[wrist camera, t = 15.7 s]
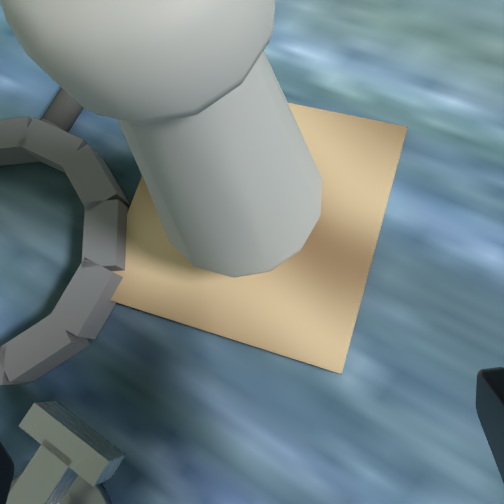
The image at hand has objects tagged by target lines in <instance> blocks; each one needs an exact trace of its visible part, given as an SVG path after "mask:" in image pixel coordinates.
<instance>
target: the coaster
mask: <svg viewBox="0 0 504 504" xmlns="http://www.w3.org/2000/svg"><path fill="white" fill-rule="evenodd" d="M288 105H289V107H290V109H291V111H292V114H293V116H294V118H295V120H296V122H297V124H298V127H299V129H300V131H301V133H302V135H303V137H304V140H305V142H306V144H307V146H308V148H309V151H310V153H311V155H312V157H313V160H314V162H315V164H316V166H317V168H318V171H319V173H320V175H321V177H322V194H321V215H320V217H319V219H318V221H317V223H316V225H315V226H314V228H313V230H312V231H311V233H310V235H309V237H308V238H307V240H306V242H305V244H304V245H303V247H302V249H301V250H300V251H299V252H298V253H296V254H295V255H293V256H292V257H291V258H289V259H288V260H286V261H285V262H283V263H282V264H280V265H279V266H277V267H276V268H275V269H273V270H272V271H270V272H265V273H259V274H253V275H247V276H241V277H235V278H233V277H229V276H226V275H222V274H219V273H215V272H212V271H208V270H205V269H201V268H198V267H195V266H194V265H192V264H191V263H190V262H189V261H188V260H187V259H186V258H185V257H184V256H183V255H182V254H181V253H180V252H179V251H178V250H177V249H176V248H175V247H174V246H173V245H172V244H171V243H170V242H169V241H168V238H167V236H166V233H165V231H164V228H163V226H162V223H161V221H160V218H159V216H158V213H157V211H156V208H155V206H154V203H153V201H152V198H151V196H150V193H149V190H148V188H147V185H146V183H145V181H144V178H143V176H142V177H141V179H140V182H139V185H138V187H137V190H136V192H135V195H134V197H133V200H132V203H131V205H130V208H129V210H128V213H127V228H126V259H125V270H123V271H112V272H114V273H116V274H118V275H120V276H122V277H123V279H122V280H121V282H120V284H119V286H118V287H117V289H116V291H115V292H114V294H113V296H112V298H111V299H110V300H111V301H114V302H116V303H119V304H123V305H126V306H129V307H132V308H135V309H138V310H141V311H144V312H148V313H151V314H154V315H157V316H160V317H163V318H166V319H170V320H173V321H176V322H179V323H182V324H185V325H188V326H191V327H195V328H198V329H201V330H204V331H207V332H210V333H213V334H217V335H220V336H223V337H226V338H229V339H232V340H235V341H238V342H242V343H245V344H248V345H251V346H254V347H257V348H260V349H264V350H267V351H270V352H273V353H276V354H279V355H282V356H285V357H289V358H292V359H295V360H298V361H301V362H304V363H307V364H311V365H314V366H317V367H320V368H323V369H326V370H329V371H332V372H336V373H339V374H342V370H343V367H344V363H345V359H346V355H347V352H348V348H349V344H350V340H351V337H352V333H353V329H354V325H355V322H356V318H357V314H358V310H359V307H360V303H361V299H362V295H363V292H364V288H365V284H366V281H367V277H368V273H369V269H370V266H371V262H372V258H373V254H374V251H375V247H376V243H377V239H378V236H379V232H380V228H381V224H382V221H383V217H384V213H385V209H386V206H387V202H388V198H389V194H390V191H391V187H392V183H393V179H394V176H395V172H396V168H397V164H398V161H399V157H400V153H401V150H402V146H403V142H404V138H405V135H406V131H407V127H405V126H400V125H395V124H390V123H385V122H380V121H375V120H371V119H366V118H361V117H356V116H351V115H346V114H341V113H336V112H331V111H326V110H321V109H316V108H311V107H306V106H301V105H296V104H291V103H288Z"/></svg>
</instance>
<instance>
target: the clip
mask: <svg viewBox="0 0 504 504" xmlns="http://www.w3.org/2000/svg"><path fill="white" fill-rule="evenodd" d="M19 427H20V428H21V429H23V430H24V431H25V432H26V433H28V434H29V435H30V436H31V437H33V438H34V439H35V440H36V441H38V442H39V443H40V444H41V445H40V447H39V448H38V450H37V451H36V453H35V454H34V456H33V458H32V459H31V461H30V462H29V464H28V465H27V467H26V468H25V470H24V471H23V473H22V474H21V476H20V477H19V479H18V480H17V482H16V483H15V485H14V486H13V488H12V489H11V491H10V492H9V494H8V498H7V502H6V504H60V503H61V501H62V500H63V498H64V496H65V495H66V493H67V492H68V490H69V489H70V487H71V486H72V484H73V482H74V481H75V479H76V478H77V476H78V475H79V476H81V477H82V478H83V479H84V480H86V481H87V482H88V483H89V484H91V485H92V486H95V485H97V484H100V483H102V482H104V481H106V480H108V479H110V478H111V477H112V476H113V474H114V472H115V471H116V469H117V468H118V466H119V465H120V463H121V461H122V460H123V458H124V457H125V454H124V453H122V452H121V451H120V450H118V449H117V448H116V447H115V446H113V445H112V444H111V443H109V442H108V441H107V440H105V439H104V438H103V437H102V436H100V435H99V434H98V433H96V432H95V431H94V430H93V429H91V428H90V427H89V426H87V425H86V424H85V423H83V422H82V421H81V420H80V419H78V418H77V417H76V416H74V415H73V414H72V413H70V412H69V411H68V410H67V409H65V408H64V407H63V406H61V405H60V404H59V403H57V402H56V401H48V402H35V403H34V404H33V405H32V407H31V408H30V409H29V411H28V412H27V414H26V415H25V417H24V418H23V420H22V421H21V423H20V424H19Z"/></svg>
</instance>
